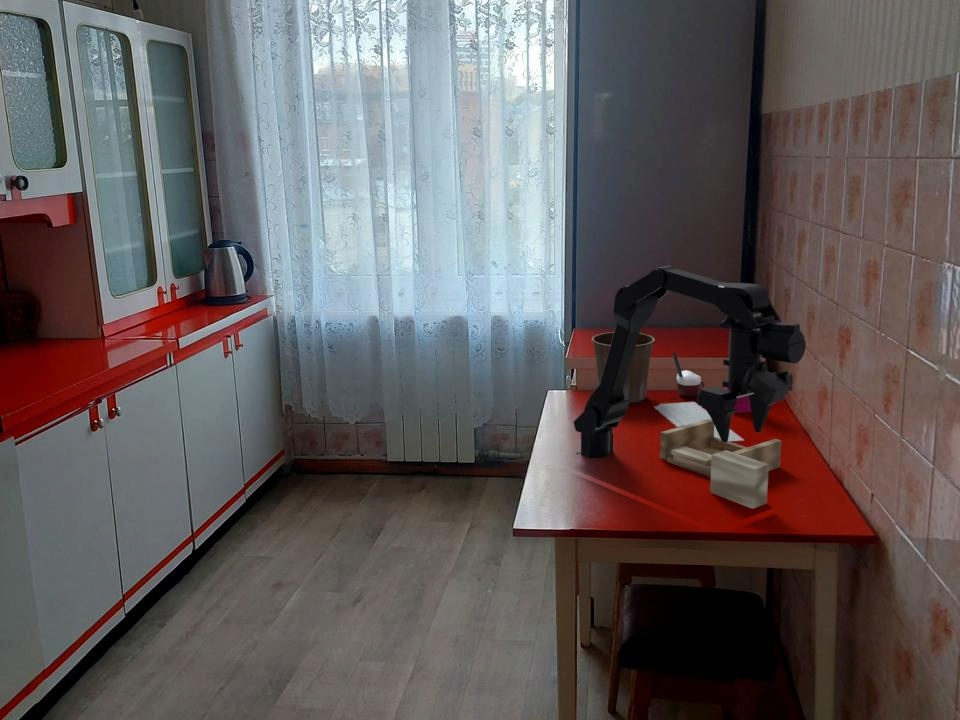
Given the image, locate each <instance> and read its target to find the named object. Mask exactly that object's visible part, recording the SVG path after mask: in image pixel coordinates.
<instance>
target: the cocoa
mask: <svg viewBox="0 0 960 720" xmlns="http://www.w3.org/2000/svg"><path fill="white" fill-rule="evenodd" d="M671 353H672V358H673V360H674V364H675V367H676V370H677V371H676V372H677V374H676V379H675V380H677V381H676V389H677V392H678V394H679V395H680V396H681V395H682V396H681V397H683V396H685V398H694V396H695V397H696V396H697V394H698V393H699V392H700V391H701V390H703V389H704V386H705V383H704V382H703V381H702V377H701V376H700V375H698V374H696V373H694V372H692V371H691V370H686V369H685V370H682V368H681V366H680V363H679V360H678V356H677V353H676V352H673V351H672V352H671Z"/></svg>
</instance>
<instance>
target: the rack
mask: <svg viewBox="0 0 960 720" xmlns="http://www.w3.org/2000/svg"><path fill="white" fill-rule="evenodd" d="M659 444H660V445H659V447H660V448H659V450H660V451H659V459H661V460H664V461H667V457H669V456H672V454H671V451H672V450H673V449H676V448H679V447H682V446H685V447H689V448H692V449H695V450H698V451H701V452H705V453H708V454H711V455H712V454H715V453H718V452H722V451H725V450H727V451H730V452H733V453H736V454H739V455H742V456H745V457H748V458H751V459H754V460H757V461H760V462H763V463H766V464H769V471H768V472H770V471H773V470H776V469H779V468H781V451H782V440H780V439H778V438H774V439H771V440H767V441H764V442H761V443H757V444H755V445H751V446H748V447H747V446H744V445H741V444H738V443H734V442H733V441H731V442H729V441H728V442H726V443H725V442H722V441H721V439H720V438H717V437H714V423H713V421H712V420H711V419H707V420H703V421H700V422H696V423H692V424H689V425H685V426H684V425H683V426H680V427H675V428H671V429H667V430H664V431H660V443H659Z"/></svg>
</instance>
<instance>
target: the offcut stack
mask: <svg viewBox="0 0 960 720" xmlns="http://www.w3.org/2000/svg"><path fill="white" fill-rule="evenodd" d="M671 454H672V456H669V457H667V460H666V462H667V463H670V464H672V465H676V466H678V467H680V468H684V469H686V470H689V471H691V472H694V473H696V474H697V473H698V474H701V475H702V476H706V477H708V478H711V459H712V455H711V454H708V453H705V452H701V451H698V450H695V449H692V448H689V447H685V446H682V447H679V448H676V449H673V450H672V451H671Z"/></svg>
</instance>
